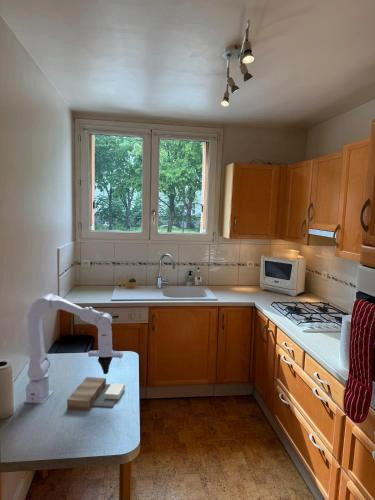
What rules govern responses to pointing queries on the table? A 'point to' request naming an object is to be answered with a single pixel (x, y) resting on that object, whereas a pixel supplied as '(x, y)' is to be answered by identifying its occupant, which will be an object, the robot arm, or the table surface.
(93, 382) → the brown wooden block
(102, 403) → the mat
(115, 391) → the cream foam block
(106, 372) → the robot arm
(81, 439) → the table surface
